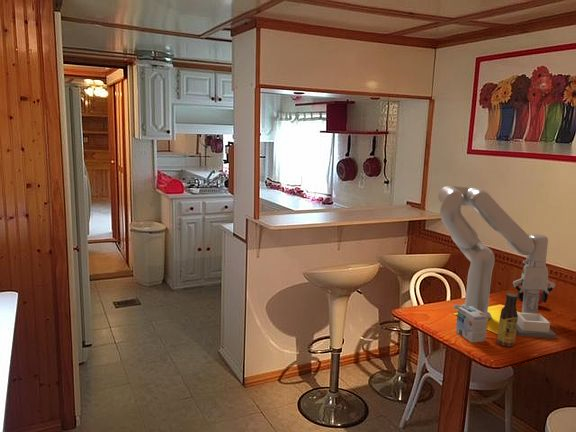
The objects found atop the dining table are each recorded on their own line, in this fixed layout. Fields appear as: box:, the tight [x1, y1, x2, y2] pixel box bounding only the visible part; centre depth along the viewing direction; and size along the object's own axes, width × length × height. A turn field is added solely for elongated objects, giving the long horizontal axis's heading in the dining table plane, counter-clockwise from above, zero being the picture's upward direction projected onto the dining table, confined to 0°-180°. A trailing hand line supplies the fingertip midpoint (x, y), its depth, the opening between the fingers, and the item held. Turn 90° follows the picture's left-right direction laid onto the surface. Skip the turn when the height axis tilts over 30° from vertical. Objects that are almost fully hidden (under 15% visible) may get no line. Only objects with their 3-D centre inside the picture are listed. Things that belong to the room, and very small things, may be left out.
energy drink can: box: [521, 289, 541, 314], centre depth 220 cm, size 6×6×15 cm
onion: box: [538, 292, 544, 306], centre depth 236 cm, size 6×6×8 cm
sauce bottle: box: [496, 292, 518, 347], centre depth 192 cm, size 6×6×20 cm
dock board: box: [516, 311, 557, 339], centre depth 207 cm, size 14×14×6 cm
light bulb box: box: [455, 306, 489, 343], centre depth 199 cm, size 11×7×11 cm, turn 16°
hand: (532, 301), depth 220 cm, fingers open, 9 cm apart
